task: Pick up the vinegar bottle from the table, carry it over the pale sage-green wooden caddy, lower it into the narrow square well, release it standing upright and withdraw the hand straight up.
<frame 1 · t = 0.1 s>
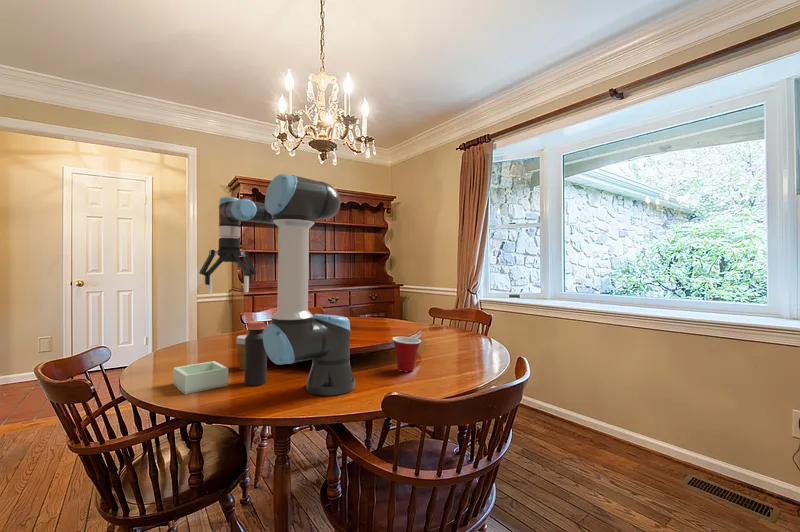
hand: (228, 293, 141), 28 cm above the table, fingers open, 13 cm apart
well: (200, 385, 118), on the table
vinegar: (255, 383, 120), on the table
disposable coffee cup: (248, 368, 138), on the table
plastic cup: (406, 370, 137), on the table
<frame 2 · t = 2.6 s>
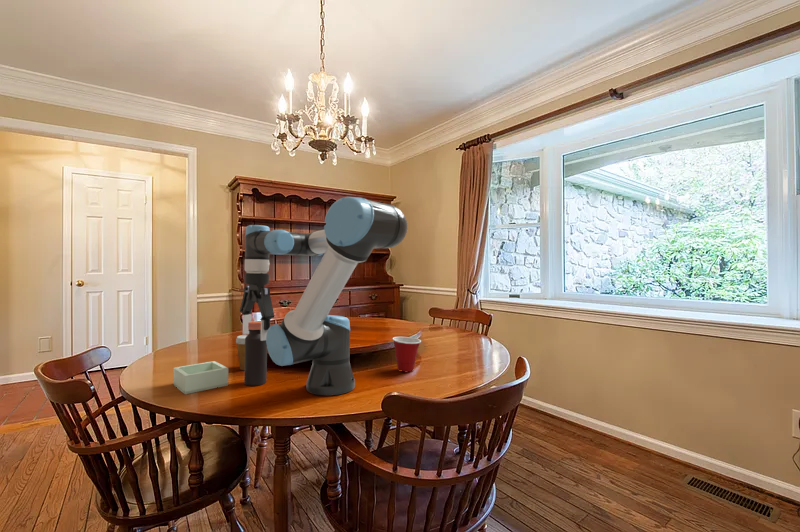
hand: (255, 336, 121), 15 cm above the table, fingers open, 13 cm apart
nothing on the table moved.
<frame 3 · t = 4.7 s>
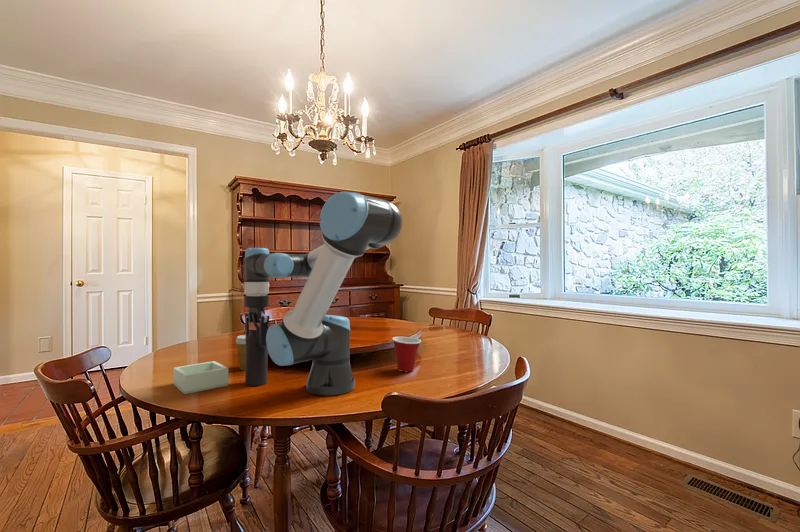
hand: (256, 365, 120), 6 cm above the table, fingers open, 4 cm apart
vinegar: (256, 383, 120), on the table, touching gripper
everything else where it was.
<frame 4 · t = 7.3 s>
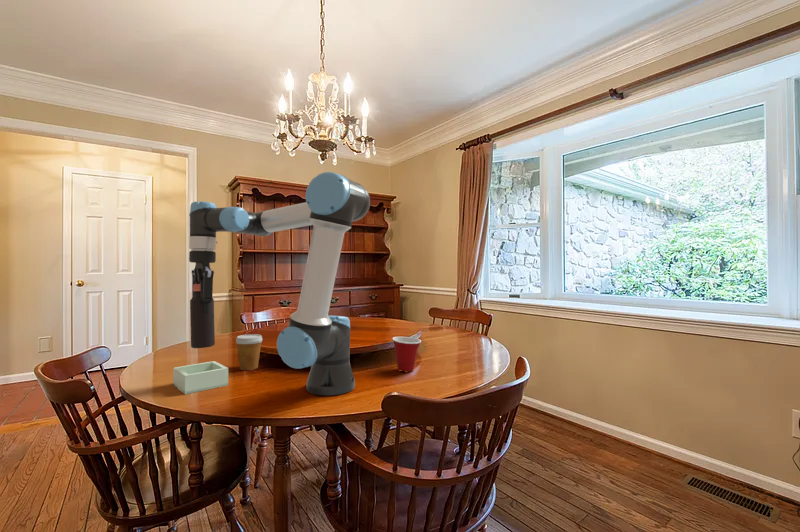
hand: (201, 323, 118), 20 cm above the table
vinegar: (203, 346, 118), point 12 cm above the table, touching gripper
everything else where it was.
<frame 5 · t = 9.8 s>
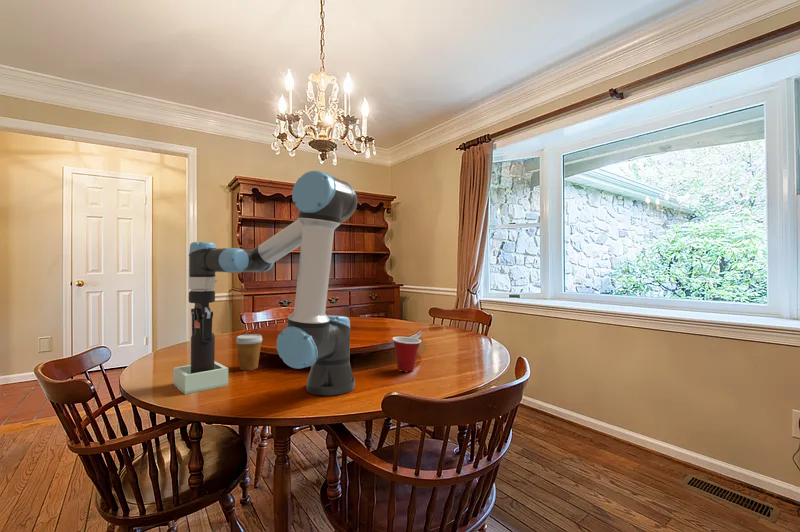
hand: (200, 362, 118), 7 cm above the table, fingers open, 4 cm apart
vinegar: (202, 383, 118), point 1 cm above the table, touching well
everything else where it was.
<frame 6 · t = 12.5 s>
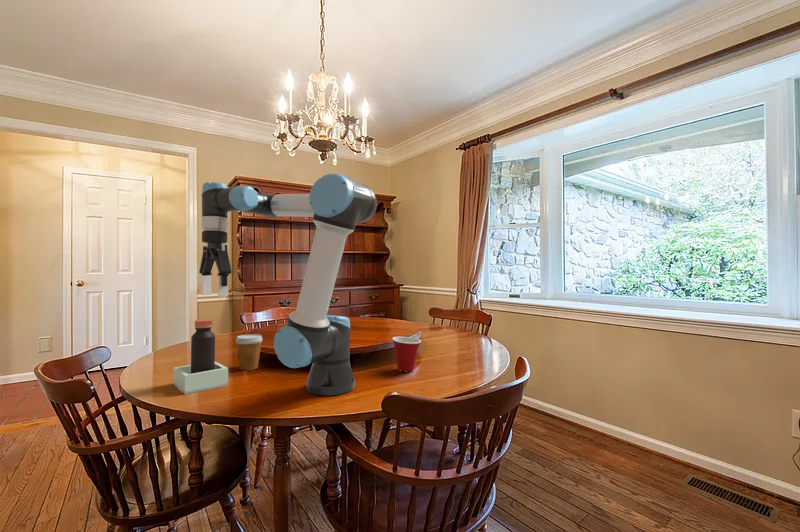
hand: (214, 295, 120), 29 cm above the table, fingers open, 13 cm apart
nothing on the table moved.
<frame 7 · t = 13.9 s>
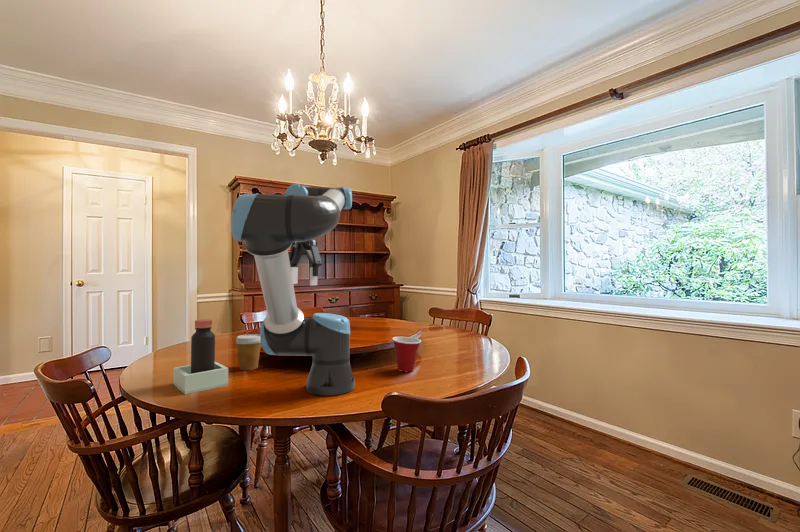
hand: (303, 284, 138), 32 cm above the table, fingers open, 13 cm apart
nothing on the table moved.
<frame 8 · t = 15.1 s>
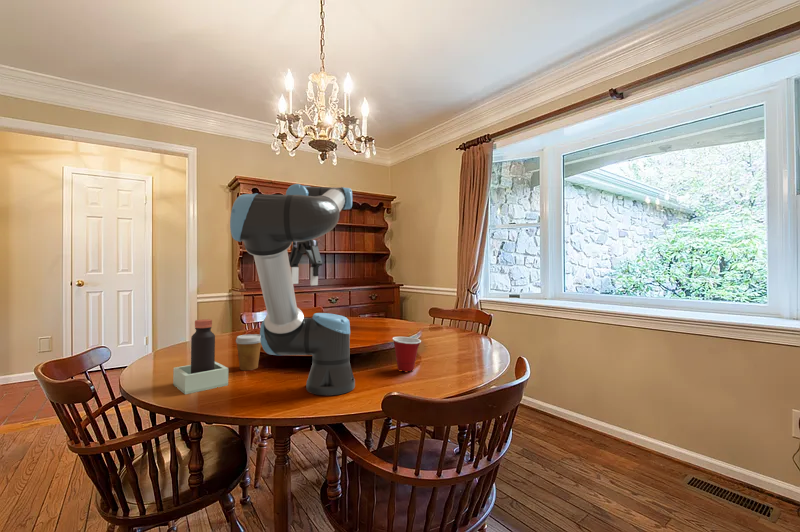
hand: (304, 284, 138), 32 cm above the table, fingers open, 13 cm apart
nothing on the table moved.
at the end: vinegar 0.5 cm off-centre on the well, point 0.6 cm above the well's base; vinegar tilted 0°; the gripper is holding nothing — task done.
